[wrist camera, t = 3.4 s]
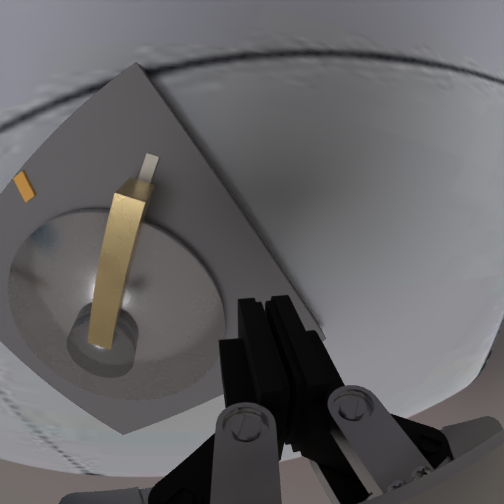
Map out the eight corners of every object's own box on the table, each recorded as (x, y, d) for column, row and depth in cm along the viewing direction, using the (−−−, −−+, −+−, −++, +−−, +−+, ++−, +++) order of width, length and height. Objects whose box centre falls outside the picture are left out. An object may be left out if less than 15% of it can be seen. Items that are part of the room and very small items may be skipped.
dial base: (141, 66, 16) (134, 61, 14) (319, 325, 28) (327, 341, 26) (-42, 270, 19) (-54, 281, 17) (124, 421, 31) (122, 436, 29)
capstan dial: (188, 407, 27) (190, 444, 23) (19, 357, 22) (4, 390, 18) (277, 223, 20) (296, 252, 16) (26, 142, 15) (-12, 153, 11)
